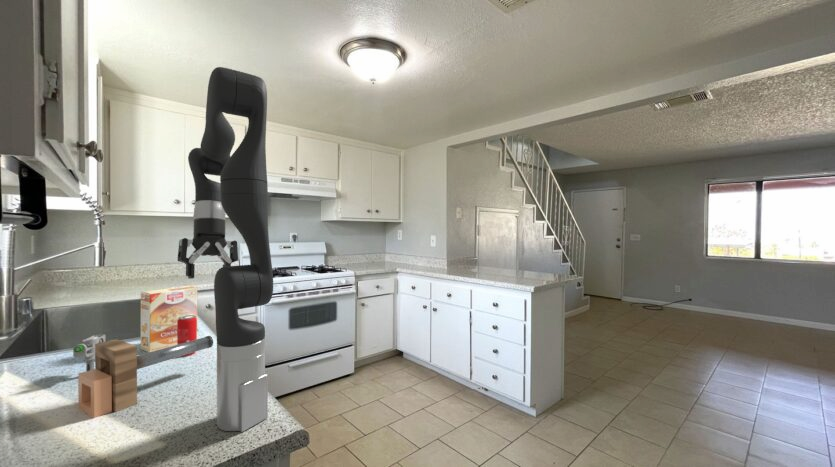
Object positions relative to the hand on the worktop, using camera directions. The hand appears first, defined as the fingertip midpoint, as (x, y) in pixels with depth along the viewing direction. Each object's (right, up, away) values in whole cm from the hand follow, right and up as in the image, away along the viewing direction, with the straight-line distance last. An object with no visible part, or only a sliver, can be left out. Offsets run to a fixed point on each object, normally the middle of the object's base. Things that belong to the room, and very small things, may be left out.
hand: (209, 277), depth 93 cm
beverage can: (-18, -27, +18) cm, 38 cm away
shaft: (-9, -21, -3) cm, 23 cm away
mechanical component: (-34, -27, +2) cm, 44 cm away
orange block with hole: (-16, -28, -16) cm, 36 cm away
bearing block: (-14, -28, -13) cm, 34 cm away
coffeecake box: (-30, -27, +27) cm, 48 cm away
